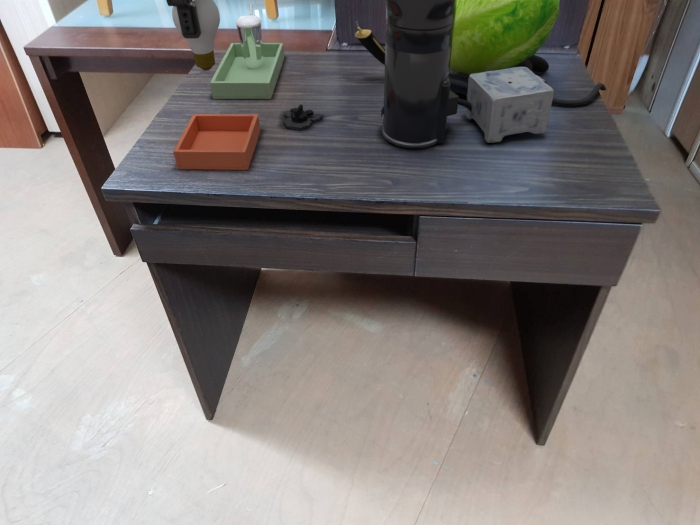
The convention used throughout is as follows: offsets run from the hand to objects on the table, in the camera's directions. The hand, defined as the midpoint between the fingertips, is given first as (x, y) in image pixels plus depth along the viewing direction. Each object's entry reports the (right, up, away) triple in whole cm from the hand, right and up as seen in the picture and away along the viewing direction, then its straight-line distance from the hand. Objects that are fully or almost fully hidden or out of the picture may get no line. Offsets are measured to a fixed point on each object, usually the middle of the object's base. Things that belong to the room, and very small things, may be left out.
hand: (198, 27), depth 71 cm
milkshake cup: (+1, +7, +34) cm, 35 cm away
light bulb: (0, -4, +4) cm, 6 cm away
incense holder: (+44, -9, +16) cm, 48 cm away
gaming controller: (+51, +2, +27) cm, 58 cm away
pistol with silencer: (+30, +5, +17) cm, 35 cm away
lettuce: (+42, +2, +14) cm, 45 cm away
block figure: (+12, -8, +18) cm, 23 cm away
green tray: (+1, +4, +31) cm, 31 cm away
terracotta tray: (0, -13, +11) cm, 18 cm away
